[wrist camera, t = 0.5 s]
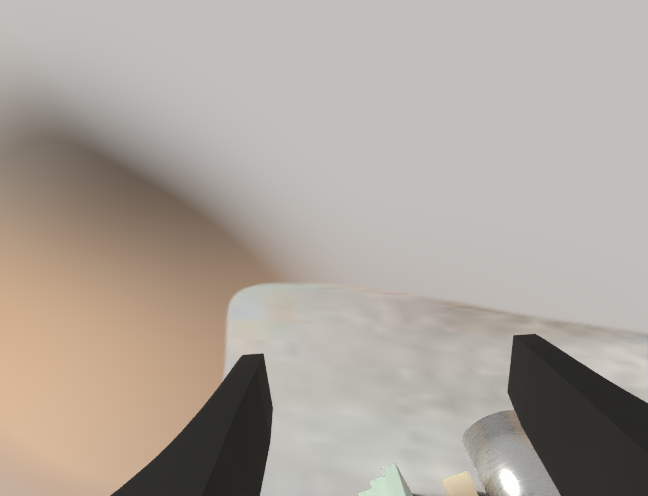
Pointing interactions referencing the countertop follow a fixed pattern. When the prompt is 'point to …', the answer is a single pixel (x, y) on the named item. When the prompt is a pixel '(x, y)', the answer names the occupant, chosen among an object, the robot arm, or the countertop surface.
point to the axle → (506, 458)
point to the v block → (388, 484)
